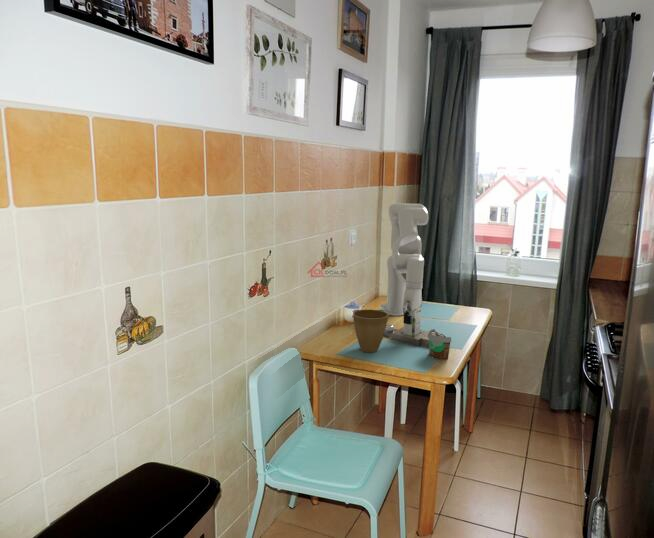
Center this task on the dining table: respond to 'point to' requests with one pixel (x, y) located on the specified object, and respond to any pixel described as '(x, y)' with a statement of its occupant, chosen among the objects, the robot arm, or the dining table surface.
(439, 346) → the food container
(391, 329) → the plate with dome knob
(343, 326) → the dining table surface
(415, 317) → the syrup box
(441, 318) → the dining table surface
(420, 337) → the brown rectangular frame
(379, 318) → the plant pot
